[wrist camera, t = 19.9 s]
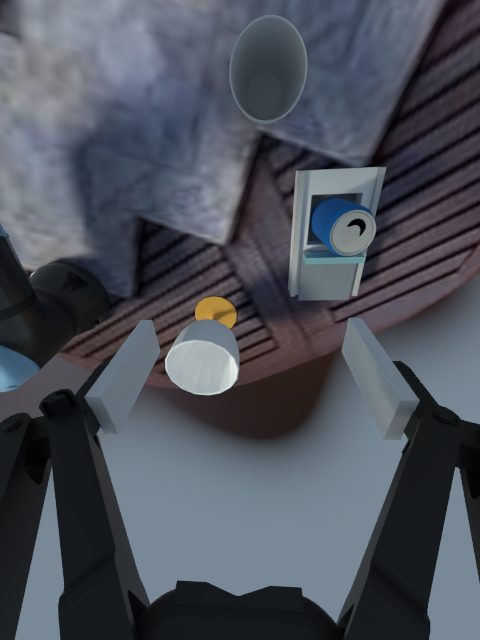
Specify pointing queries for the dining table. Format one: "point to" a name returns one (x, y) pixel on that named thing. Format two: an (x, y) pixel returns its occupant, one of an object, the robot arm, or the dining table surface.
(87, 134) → the dining table surface
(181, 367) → the cup
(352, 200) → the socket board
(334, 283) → the shutter
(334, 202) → the beverage can
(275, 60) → the cup
